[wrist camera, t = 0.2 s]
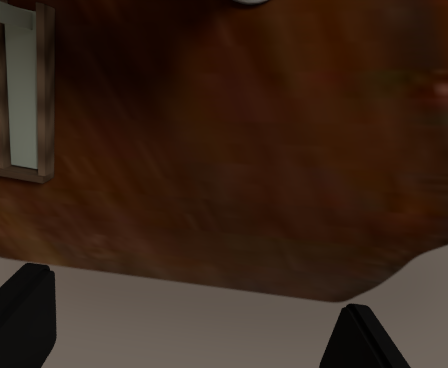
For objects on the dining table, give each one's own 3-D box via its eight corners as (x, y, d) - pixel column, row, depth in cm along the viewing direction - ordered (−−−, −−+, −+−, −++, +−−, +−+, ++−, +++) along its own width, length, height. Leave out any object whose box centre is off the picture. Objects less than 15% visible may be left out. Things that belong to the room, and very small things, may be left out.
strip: (10, 6, 37) (-37, -11, 30) (42, 14, 37) (3, -1, 31) (16, 162, 44) (-20, 176, 37) (43, 167, 44) (11, 182, 38)
